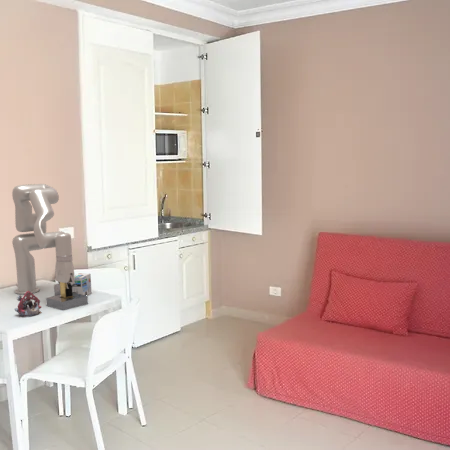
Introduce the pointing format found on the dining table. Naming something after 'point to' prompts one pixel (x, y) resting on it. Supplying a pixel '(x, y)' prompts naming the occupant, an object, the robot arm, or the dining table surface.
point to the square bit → (64, 290)
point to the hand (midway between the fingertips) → (66, 295)
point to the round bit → (57, 289)
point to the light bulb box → (82, 284)
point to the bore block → (67, 301)
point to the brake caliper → (28, 305)
